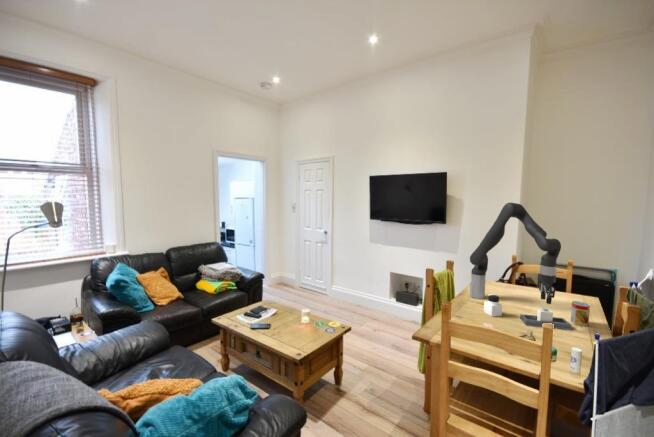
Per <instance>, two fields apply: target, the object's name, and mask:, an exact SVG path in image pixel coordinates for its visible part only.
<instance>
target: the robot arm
mask: <svg viewBox="0 0 654 437" xmlns="http://www.w3.org/2000/svg"><path fill="white" fill-rule="evenodd" d="M510 218H515V219H517V220H518V221H520V222H521V223H522V224H523V226H524V229H525V231H526V232H527V233H528V234H529V236H530V237H531V238H533V239H534V242H535V243H536V245H537V247H538V248H539V249H540V250H541V251H543V252H546V253H545V254H542V256H541V257H540V258H541V259H540V266H539V276H538V277H539V278H538V282H539V283H538V291H540V300H543V301H546V302H545V304H547V305H551V304H552V298H553V299H555V297H556V296H555V294H556V288H555V287H553V284H555V283H556V280H557V260H558V257H559V255H560V252H561V249H562V244H561V241H560V240H559V239H557V238H546V237H547V235H548V234H547V232H546V231H545V230H544V229H543V227H541V226H540V225H539V224H538V223H537V222H536V221H535V220H534V219H533V218H532V216H531V215H530V214H529V213H528V211H527V210H526V208H525V207H524V206H523V205H522V204H521V203H517V202H516V203H515V202H507V203H505V204H504V206H502V209H501V210H500V212H499V214H498V216H497V218H496V219H495V221H494V222H493V224H492V225H491V227H490V228H489V230H488V232H486V234H485V236H484V238H483V239H482V240H481V241H480V243H479V245H478V246H477V247H476V248H475V250H474V251H473V252H472V253H471V255H470V256H469V262H470V263H471V264H472V265H473V266H474V267H473V268H472V269H471V276H470V278H471V280H470V283H469V284H470V286H469V296H470V298H473V299H477V300H484V299H485V295H486V293H485V292H486V276H487V271H488V265H489V258H488V257H489V256H488V254H487V253H488V252H490V251H491V250H492V249H494V248H495V247H496V246H497V245H498V244H499V243H500V242H501V240H502V239H503V237H504V235H505V232H506V225H507V223H508V222H509V220H510Z"/></svg>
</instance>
